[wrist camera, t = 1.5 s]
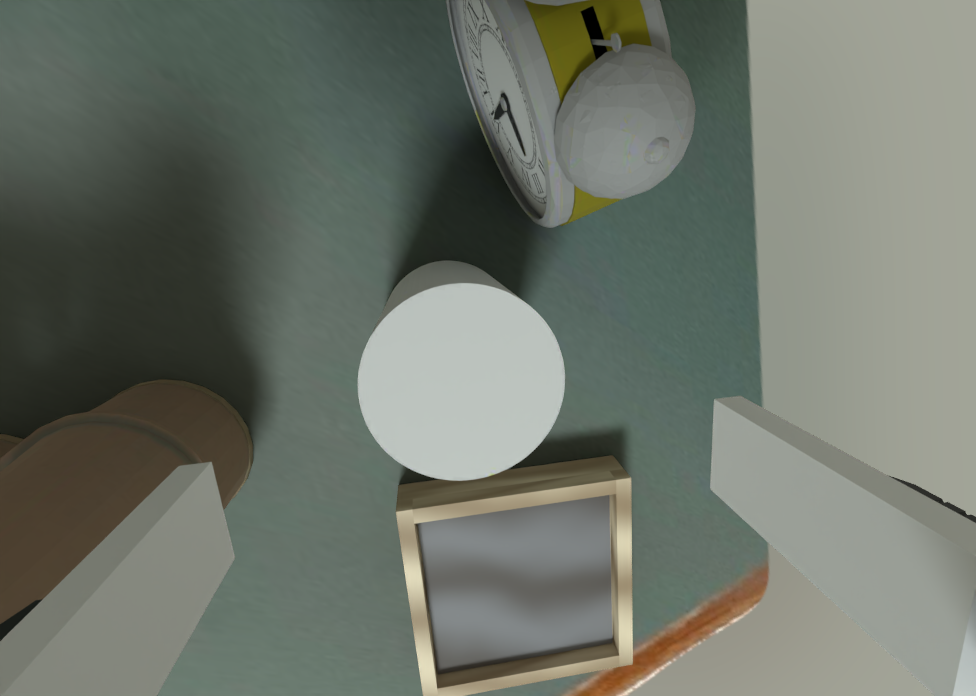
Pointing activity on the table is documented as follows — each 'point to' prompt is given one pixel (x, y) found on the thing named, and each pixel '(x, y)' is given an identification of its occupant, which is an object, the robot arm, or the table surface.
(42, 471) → the binoculars
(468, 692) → the square picture frame
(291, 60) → the table surface
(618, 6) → the alarm clock
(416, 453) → the white cylinder
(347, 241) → the table surface
